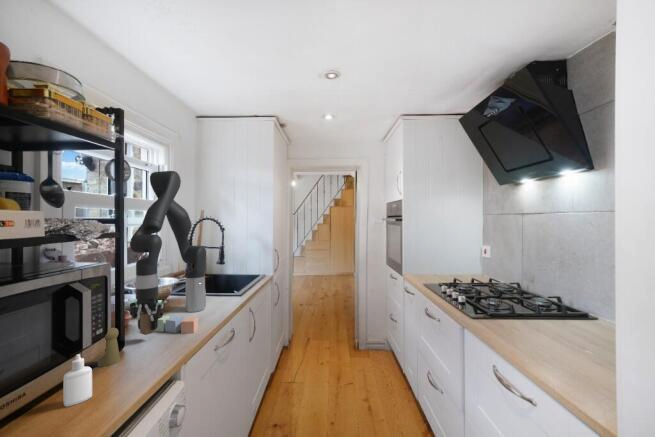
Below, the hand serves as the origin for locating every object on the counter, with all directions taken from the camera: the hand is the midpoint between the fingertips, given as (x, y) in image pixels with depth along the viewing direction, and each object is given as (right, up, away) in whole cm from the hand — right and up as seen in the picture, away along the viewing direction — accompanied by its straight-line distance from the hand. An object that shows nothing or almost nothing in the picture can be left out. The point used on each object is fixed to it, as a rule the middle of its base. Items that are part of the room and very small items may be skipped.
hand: (147, 329), depth 114 cm
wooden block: (0, -2, 0) cm, 2 cm away
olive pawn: (-2, -5, -17) cm, 18 cm away
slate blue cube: (+5, -5, +11) cm, 13 cm away
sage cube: (-2, -5, +12) cm, 13 cm away
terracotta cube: (+12, -5, +10) cm, 16 cm away
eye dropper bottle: (+5, -5, -38) cm, 39 cm away
